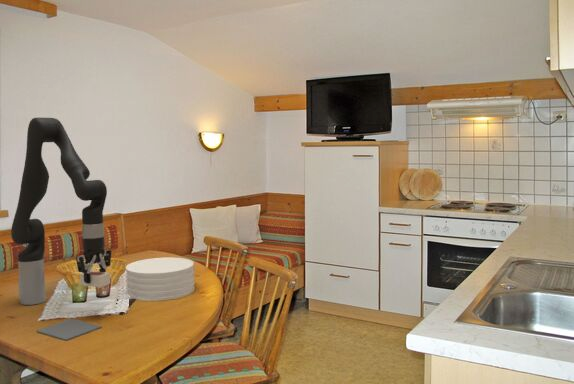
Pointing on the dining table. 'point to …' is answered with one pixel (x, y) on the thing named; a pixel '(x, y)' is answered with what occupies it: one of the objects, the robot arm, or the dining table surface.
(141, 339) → the dining table surface
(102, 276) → the card box
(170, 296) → the plate stack
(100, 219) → the robot arm
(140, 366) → the dining table surface
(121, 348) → the dining table surface
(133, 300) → the chocolate bar
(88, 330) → the mat
